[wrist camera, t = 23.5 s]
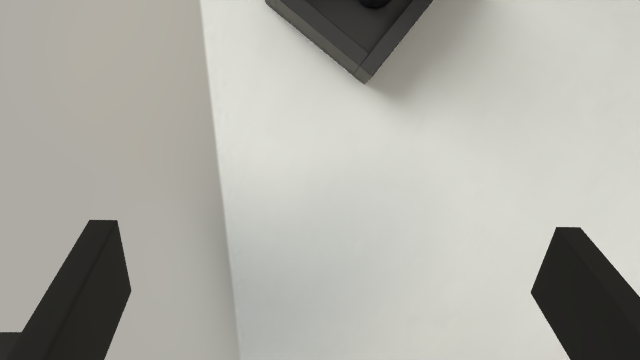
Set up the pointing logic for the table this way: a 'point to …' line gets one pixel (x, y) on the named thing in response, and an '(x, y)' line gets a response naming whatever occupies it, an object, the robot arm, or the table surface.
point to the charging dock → (353, 29)
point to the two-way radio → (375, 3)
